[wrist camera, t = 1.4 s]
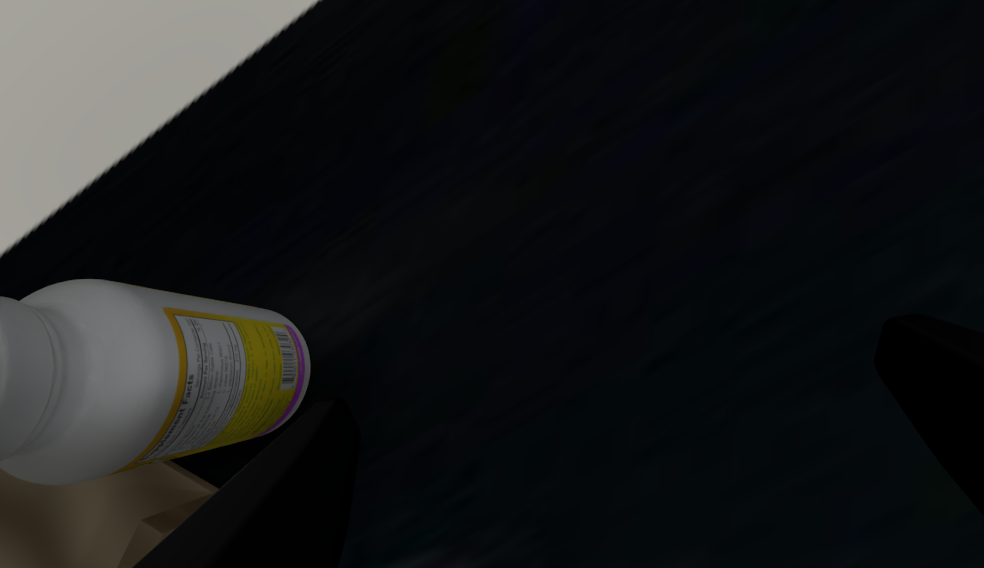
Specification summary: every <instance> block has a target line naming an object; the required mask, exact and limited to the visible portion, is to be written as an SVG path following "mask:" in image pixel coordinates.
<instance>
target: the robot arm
mask: <svg viewBox="0 0 984 568" xmlns="http://www.w3.org/2000/svg"><path fill="white" fill-rule="evenodd" d="M874 364H875V368H876V370H877V372H878V374H879V376H880V377H881V379H882V380H883V382H884V383H885V385H886V386H887V388H888V389H889V390H890V392H891V393H892V395H893V396H894V398H895V399H896V401H897V402H898V404H899V405H900V406H901V408H902V409H903V411H904V412H905V414H906V415H907V417H908V418H909V420H910V421H911V423H912V424H913V425H914V427H915V428H916V430H917V431H918V433H919V434H920V436H921V437H922V439H923V440H924V441H925V443H926V444H927V446H928V447H929V449H930V450H931V451H932V453H933V454H934V455H935V457H936V458H937V459H938V461H939V462H940V463H941V465H942V466H943V467H944V468H945V470H946V471H947V472H948V473H949V475H950V476H951V477H952V478H953V479H954V481H955V482H956V483H957V484H958V485H959V487H960V488H961V489H962V490H963V491H964V493H965V494H966V495H967V496H968V497H969V499H970V500H971V501H972V502H973V503H974V505H975V506H976V507H977V508H978V509H979V511H980V512H981V513H982V514H983V515H984V333H982V332H979V331H976V330H972V329H969V328H966V327H963V326H959V325H956V324H953V323H949V322H946V321H943V320H939V319H936V318H933V317H930V316H926V315H922V314H912V315H905V316H898V317H893V318H890V319H888V320H887V321H886V322H885V323H884V325H883V328H882V332H881V335H880V339H879V342H878V346H877V350H876V353H875V358H874ZM360 442H361V434H360V429H359V427H358V425H357V423H356V421H355V419H354V417H353V415H352V412H351V410H350V408H349V406H348V404H347V403H346V401H345V400H344V399H343V398H340V397H336V398H329V399H322V400H320V401H318V402H316V403H315V404H314V405H313V406H312V407H311V408H310V409H309V410H307V411H306V412H305V413H304V414H303V415H302V416H301V417H300V418H298V419H297V420H296V421H295V422H294V423H293V424H292V425H291V426H290V427H288V428H287V429H286V430H285V431H284V432H283V433H282V434H281V435H279V436H278V437H277V438H276V439H275V440H274V441H273V442H272V443H271V444H269V445H268V446H267V447H266V448H265V449H264V450H263V451H262V452H260V453H259V454H258V455H257V456H256V457H255V458H254V459H253V460H251V461H250V462H249V463H248V464H247V465H246V466H245V467H244V468H243V469H241V470H240V471H239V472H238V473H237V474H236V475H235V476H234V477H232V478H231V479H230V480H229V481H228V482H227V483H226V484H225V485H223V486H222V487H221V488H220V489H219V490H218V491H217V492H216V493H215V494H213V495H212V496H211V497H210V498H209V499H208V500H207V501H206V502H204V503H203V504H202V505H201V506H200V507H199V508H198V509H197V510H196V511H194V512H193V513H192V514H191V515H190V516H189V517H188V518H187V519H185V520H184V521H183V522H182V523H181V524H180V525H179V526H178V527H176V528H175V529H174V530H173V531H172V532H171V533H170V534H169V535H168V536H166V537H165V538H164V539H163V540H162V541H161V542H160V543H159V544H157V545H156V546H155V547H154V548H153V549H152V550H151V551H150V552H148V553H147V554H146V555H145V556H144V557H143V558H142V559H141V560H140V561H138V562H137V563H136V564H135V565H134V566H133V567H132V568H338V566H339V562H340V558H341V554H342V550H343V546H344V542H345V537H346V533H347V529H348V524H349V518H350V512H351V506H352V499H353V492H354V485H355V478H356V471H357V464H358V457H359V450H360Z"/></svg>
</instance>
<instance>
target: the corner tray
mask: <svg viewBox="0 0 984 568" xmlns="http://www.w3.org/2000/svg"><path fill="white" fill-rule="evenodd" d="M218 490H219V489H218V488H216V487H215V486H213V485H211V484H210V483H208V482H206V481H205V480H203V479H201V478H199V477H198V476H196V475H194V474H193V473H191V472H189V471H188V470H186V469H184V468H182V467H181V466H179V465H177V464H176V463H174V462H172V461H171V460H166V461H162V462H158V463H155V464H151V465H147V466H143V467H139V468H135V469H131V470H128V471H124V472H120V473H116V474H112V475H109V476H105V477H101V478H97V479H93V480H89V481H84V482H80V483H75V484H68V485H43V484H36V483H32V482H28V481H24V480H21V479H19V478H16V477H14V476H12V475H10V474H8V473H7V472H5V471H4V470H2V469H1V468H0V568H132V567H133V566H134V565H135V564H136V563H137V562H138V561H140V560H141V559H142V558H143V557H144V556H145V555H146V554H147V553H148V552H150V551H151V550H152V549H153V548H154V547H155V546H156V545H157V544H159V543H160V542H161V541H162V540H163V539H164V538H165V537H166V536H168V535H169V534H170V533H171V532H172V531H173V530H174V529H175V528H176V527H178V526H179V525H180V524H181V523H182V522H183V521H184V520H185V519H187V518H188V517H189V516H190V515H191V514H192V513H193V512H194V511H196V510H197V509H198V508H199V507H200V506H201V505H202V504H203V503H204V502H206V501H207V500H208V499H209V498H210V497H211V496H212V495H213V494H215V493H216V492H217V491H218Z"/></svg>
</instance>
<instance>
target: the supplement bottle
mask: <svg viewBox="0 0 984 568" xmlns="http://www.w3.org/2000/svg"><path fill="white" fill-rule="evenodd" d="M309 378H310V357H309V352H308V348H307V345H306V342H305V340H304V338H303V336H302V335H301V333H300V332H299V330H298V329H297V328H296V327H295V325H294V324H293V323H291V322H290V321H289V320H288V319H287V318H285V317H284V316H282V315H280V314H278V313H276V312H273V311H270V310H266V309H262V308H257V307H252V306H246V305H241V304H235V303H229V302H224V301H218V300H212V299H206V298H201V297H195V296H189V295H183V294H178V293H173V292H167V291H162V290H156V289H151V288H145V287H140V286H135V285H130V284H124V283H119V282H112V281H106V280H98V279H80V280H70V281H66V282H61V283H57V284H53V285H50V286H48V287H45V288H43V289H40V290H38V291H36V292H34V293H32V294H30V295H28V296H27V297H25V298H23V299H22V300H20V301H17V300H14V299H11V298H6V297H0V468H1V469H2V470H4V471H5V472H7V473H8V474H10V475H12V476H14V477H16V478H19V479H21V480H24V481H28V482H32V483H36V484H43V485H68V484H75V483H80V482H84V481H89V480H93V479H97V478H101V477H105V476H109V475H112V474H116V473H120V472H124V471H128V470H131V469H135V468H139V467H143V466H147V465H151V464H155V463H158V462H162V461H166V460H170V459H174V458H178V457H182V456H186V455H190V454H194V453H198V452H202V451H206V450H210V449H214V448H217V447H221V446H225V445H230V444H233V443H237V442H241V441H245V440H249V439H252V438H255V437H259V436H262V435H265V434H267V433H269V432H271V431H273V430H275V429H277V428H278V427H279V426H281V425H282V424H284V423H285V422H286V421H287V420H288V419H289V418H290V417H291V416H292V415H293V414H294V413H295V411H296V410H297V408H298V407H299V405H300V403H301V401H302V400H303V397H304V395H305V393H306V390H307V387H308V383H309Z"/></svg>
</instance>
